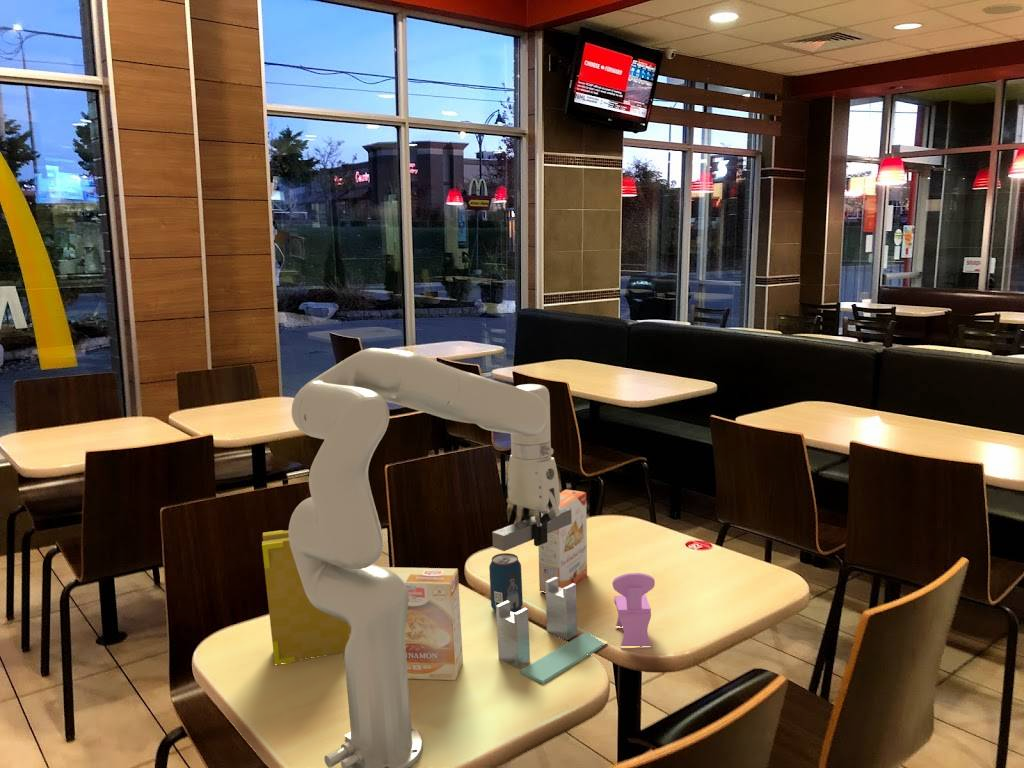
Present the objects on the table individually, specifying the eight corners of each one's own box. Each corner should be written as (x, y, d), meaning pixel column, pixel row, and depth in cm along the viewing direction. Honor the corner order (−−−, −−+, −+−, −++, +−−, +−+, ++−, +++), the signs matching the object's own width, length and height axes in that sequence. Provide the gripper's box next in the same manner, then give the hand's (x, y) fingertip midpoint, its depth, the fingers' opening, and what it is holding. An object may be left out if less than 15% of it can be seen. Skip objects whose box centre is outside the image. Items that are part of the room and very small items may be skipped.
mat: (542, 684, 146) (542, 681, 146) (520, 673, 150) (520, 670, 150) (607, 643, 159) (607, 641, 159) (585, 634, 163) (585, 632, 163)
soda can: (502, 600, 180) (499, 549, 178) (528, 606, 177) (526, 555, 175) (485, 613, 175) (482, 561, 172) (512, 619, 171) (510, 567, 169)
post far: (567, 640, 162) (566, 589, 160) (547, 631, 165) (545, 581, 163) (577, 634, 164) (575, 584, 162) (556, 626, 168) (555, 576, 166)
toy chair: (649, 625, 166) (649, 557, 163) (657, 647, 157) (656, 576, 155) (609, 627, 166) (608, 559, 163) (615, 649, 157) (613, 577, 155)
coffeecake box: (378, 678, 150) (370, 581, 147) (389, 658, 157) (381, 565, 154) (456, 681, 148) (450, 583, 145) (463, 661, 155) (458, 566, 152)
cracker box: (561, 598, 180) (559, 509, 176) (538, 593, 183) (535, 505, 179) (589, 574, 192) (587, 491, 188) (567, 570, 195) (564, 487, 191)
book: (274, 665, 157) (261, 544, 152) (275, 649, 163) (262, 532, 158) (362, 650, 161) (352, 532, 156) (359, 635, 167) (349, 521, 163)
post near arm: (519, 668, 152) (516, 614, 150) (498, 658, 156) (496, 605, 154) (530, 662, 154) (527, 608, 152) (509, 652, 158) (507, 600, 156)
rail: (504, 551, 147) (503, 535, 147) (492, 547, 150) (492, 532, 149) (571, 523, 161) (571, 509, 160) (560, 520, 163) (560, 506, 162)
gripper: (576, 452, 149) (578, 546, 152) (514, 439, 160) (517, 527, 164) (549, 461, 144) (552, 558, 147) (487, 447, 155) (490, 537, 158)
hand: (533, 540), depth 155 cm, fingers closed on rail, 3 cm apart
